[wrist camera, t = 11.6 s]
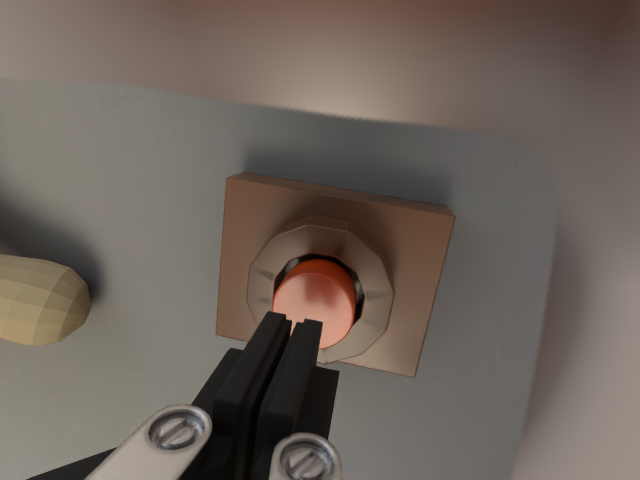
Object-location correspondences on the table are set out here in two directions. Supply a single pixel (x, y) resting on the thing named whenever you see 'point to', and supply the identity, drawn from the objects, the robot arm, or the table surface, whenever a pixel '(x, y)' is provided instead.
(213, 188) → the table surface
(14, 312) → the decorative mushroom
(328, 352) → the block
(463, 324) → the table surface
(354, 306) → the button
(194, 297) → the table surface
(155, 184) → the table surface
